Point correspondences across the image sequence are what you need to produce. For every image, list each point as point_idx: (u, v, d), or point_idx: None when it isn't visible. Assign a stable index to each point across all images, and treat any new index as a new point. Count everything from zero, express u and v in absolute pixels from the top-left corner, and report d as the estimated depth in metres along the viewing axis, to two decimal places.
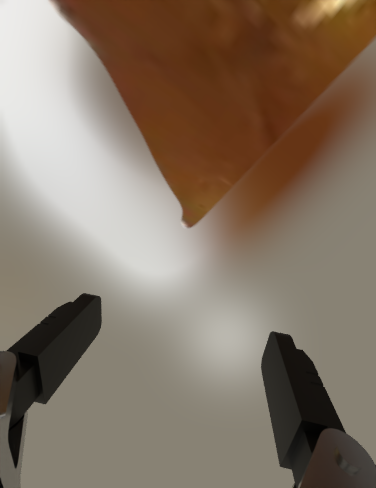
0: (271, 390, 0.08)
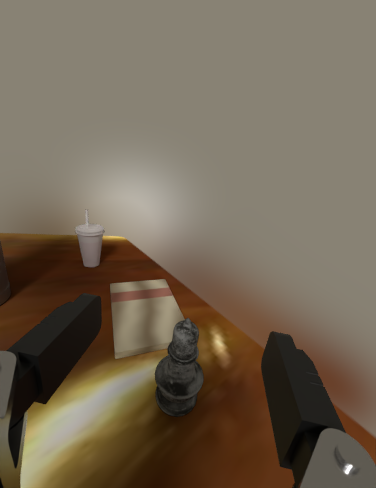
0: (271, 390, 0.08)
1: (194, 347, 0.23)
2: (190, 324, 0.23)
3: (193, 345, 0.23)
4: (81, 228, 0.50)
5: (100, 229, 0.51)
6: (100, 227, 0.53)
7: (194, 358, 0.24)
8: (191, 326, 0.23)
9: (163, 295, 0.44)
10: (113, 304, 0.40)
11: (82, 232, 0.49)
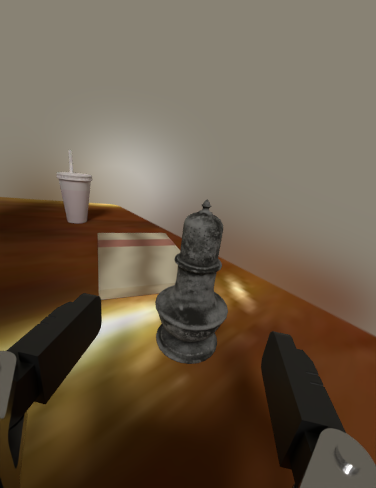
0: (271, 390, 0.08)
1: (217, 247, 0.15)
2: (210, 212, 0.15)
3: (216, 241, 0.15)
4: (64, 173, 0.42)
5: (87, 175, 0.43)
6: (87, 175, 0.44)
7: (216, 267, 0.15)
8: None
9: (163, 244, 0.36)
10: (100, 248, 0.31)
11: (64, 175, 0.40)
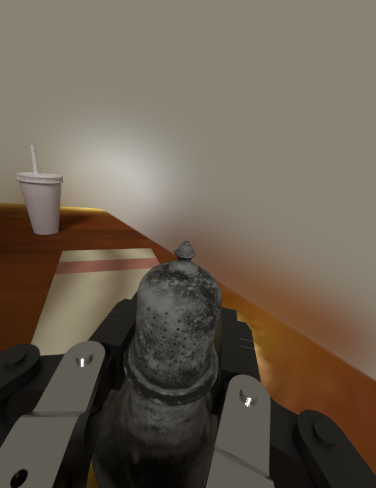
0: None
1: (208, 344, 0.07)
2: (194, 266, 0.07)
3: (207, 336, 0.07)
4: (25, 173, 0.34)
5: (55, 177, 0.35)
6: (57, 176, 0.36)
7: (208, 380, 0.07)
8: (197, 270, 0.07)
9: (146, 267, 0.28)
10: (57, 277, 0.23)
11: (24, 177, 0.32)
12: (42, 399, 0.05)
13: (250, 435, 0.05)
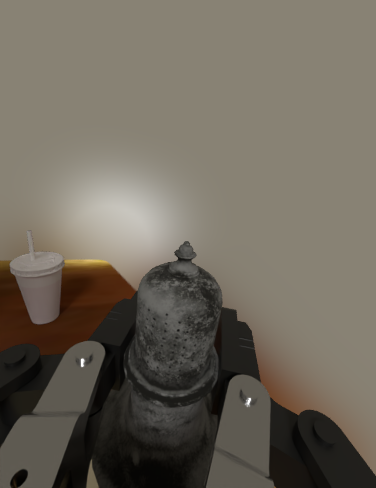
0: None
1: (209, 345, 0.07)
2: (194, 267, 0.07)
3: (207, 336, 0.07)
4: (21, 262, 0.29)
5: (55, 263, 0.30)
6: (57, 258, 0.32)
7: (208, 382, 0.07)
8: (198, 271, 0.07)
9: None
10: None
11: (19, 271, 0.28)
12: (41, 398, 0.05)
13: (250, 435, 0.05)
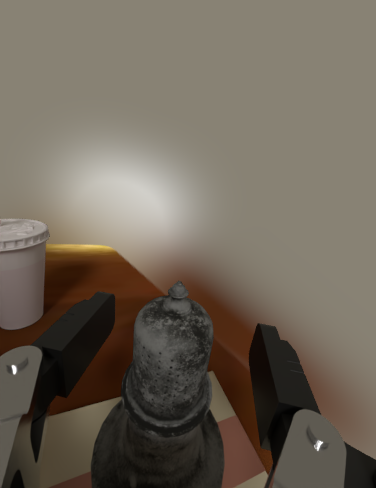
0: (256, 378, 0.09)
1: (201, 377, 0.07)
2: (187, 303, 0.07)
3: (199, 371, 0.07)
4: None
5: (34, 232, 0.19)
6: (38, 227, 0.20)
7: (201, 411, 0.08)
8: (190, 308, 0.07)
9: (233, 476, 0.12)
10: None
11: None
12: None
13: (318, 482, 0.05)
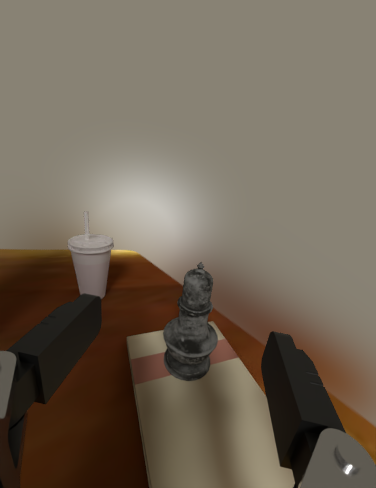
0: (271, 390, 0.08)
1: (208, 296, 0.21)
2: (203, 270, 0.21)
3: (208, 293, 0.20)
4: (77, 241, 0.31)
5: (107, 242, 0.33)
6: (107, 239, 0.34)
7: (208, 310, 0.21)
8: (204, 272, 0.21)
9: (222, 358, 0.25)
10: (139, 389, 0.20)
11: (79, 248, 0.30)
12: None
13: None
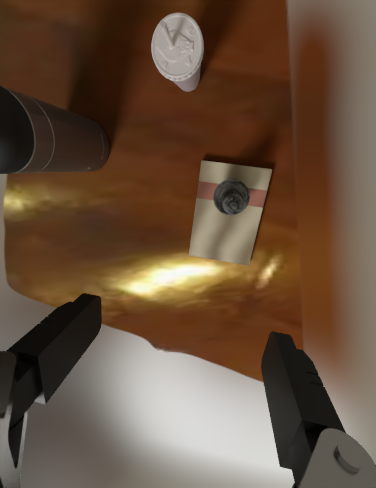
0: (271, 390, 0.08)
1: None
2: (236, 206, 0.28)
3: None
4: (161, 52, 0.26)
5: (194, 59, 0.26)
6: (196, 43, 0.25)
7: None
8: (236, 207, 0.28)
9: (252, 204, 0.38)
10: (197, 201, 0.40)
11: (163, 72, 0.27)
12: None
13: None
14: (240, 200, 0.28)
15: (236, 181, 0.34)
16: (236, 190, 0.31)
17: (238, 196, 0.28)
